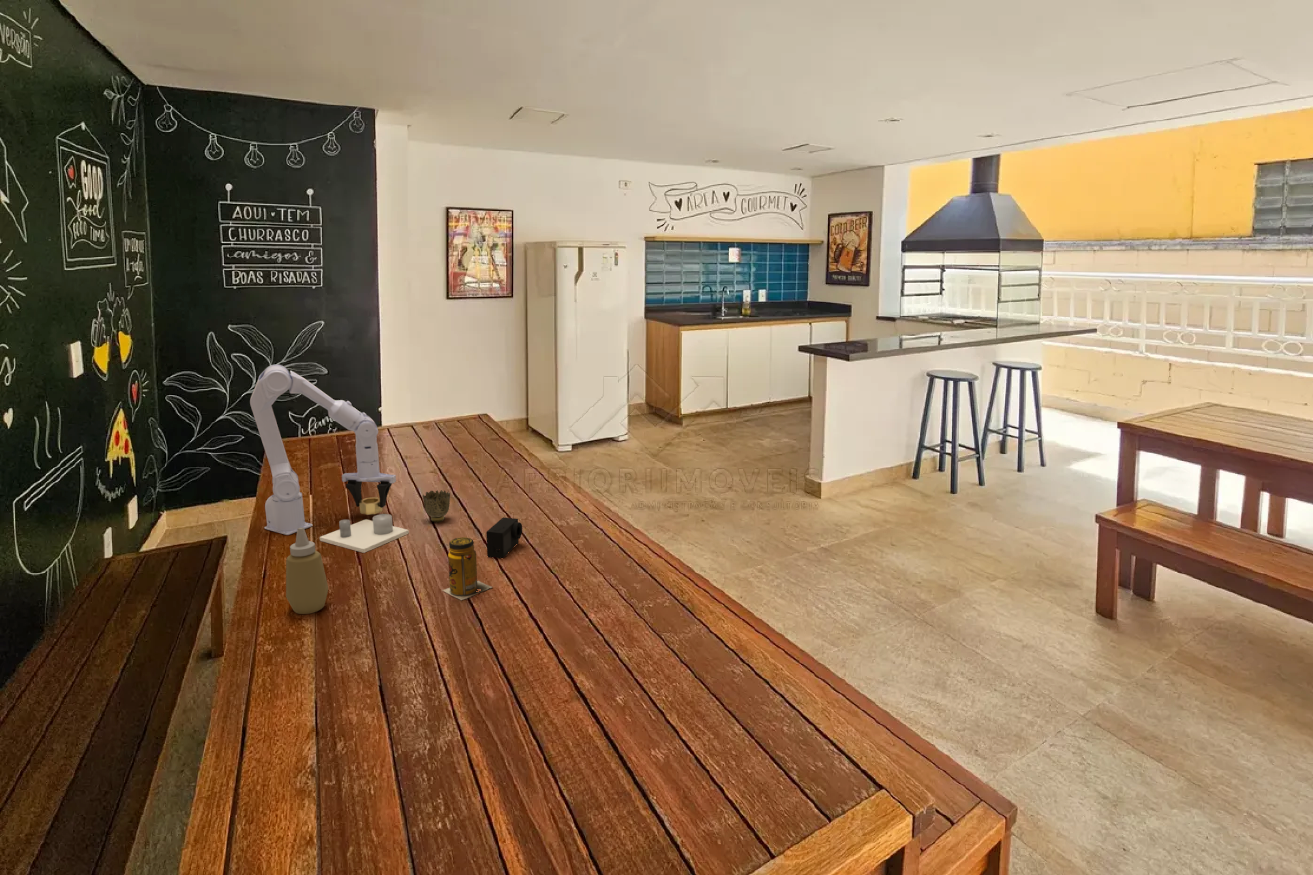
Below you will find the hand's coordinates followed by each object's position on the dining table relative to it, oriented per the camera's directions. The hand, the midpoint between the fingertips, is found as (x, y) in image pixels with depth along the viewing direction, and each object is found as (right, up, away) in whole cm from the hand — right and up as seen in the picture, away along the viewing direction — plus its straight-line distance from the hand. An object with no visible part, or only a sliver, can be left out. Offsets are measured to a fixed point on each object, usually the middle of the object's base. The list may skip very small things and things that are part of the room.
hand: (371, 506), depth 203 cm
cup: (+19, -4, -1) cm, 20 cm away
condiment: (+38, -15, -41) cm, 58 cm away
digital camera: (+42, -10, -20) cm, 48 cm away
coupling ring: (0, -1, 0) cm, 1 cm away
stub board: (+4, -7, -13) cm, 16 cm away
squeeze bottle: (+7, -17, -51) cm, 55 cm away
